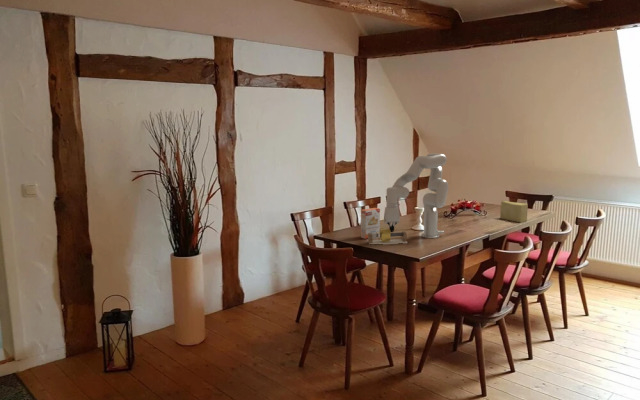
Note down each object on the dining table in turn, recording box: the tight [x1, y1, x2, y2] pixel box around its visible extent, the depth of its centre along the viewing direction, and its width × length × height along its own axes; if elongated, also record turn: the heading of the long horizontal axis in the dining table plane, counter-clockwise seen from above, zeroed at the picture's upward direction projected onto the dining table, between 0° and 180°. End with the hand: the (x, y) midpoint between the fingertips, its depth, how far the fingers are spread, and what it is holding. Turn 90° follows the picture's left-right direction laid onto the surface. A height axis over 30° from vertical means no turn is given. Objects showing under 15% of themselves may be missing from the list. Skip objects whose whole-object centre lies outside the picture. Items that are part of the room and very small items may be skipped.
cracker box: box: [360, 207, 381, 240], centre depth 351 cm, size 14×6×21 cm, turn 126°
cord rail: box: [367, 231, 408, 245], centre depth 335 cm, size 26×9×8 cm, turn 96°
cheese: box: [499, 200, 529, 224], centre depth 400 cm, size 22×10×15 cm, turn 33°
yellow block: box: [379, 227, 391, 241], centre depth 335 cm, size 6×7×8 cm
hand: (391, 231), depth 335 cm, fingers closed
